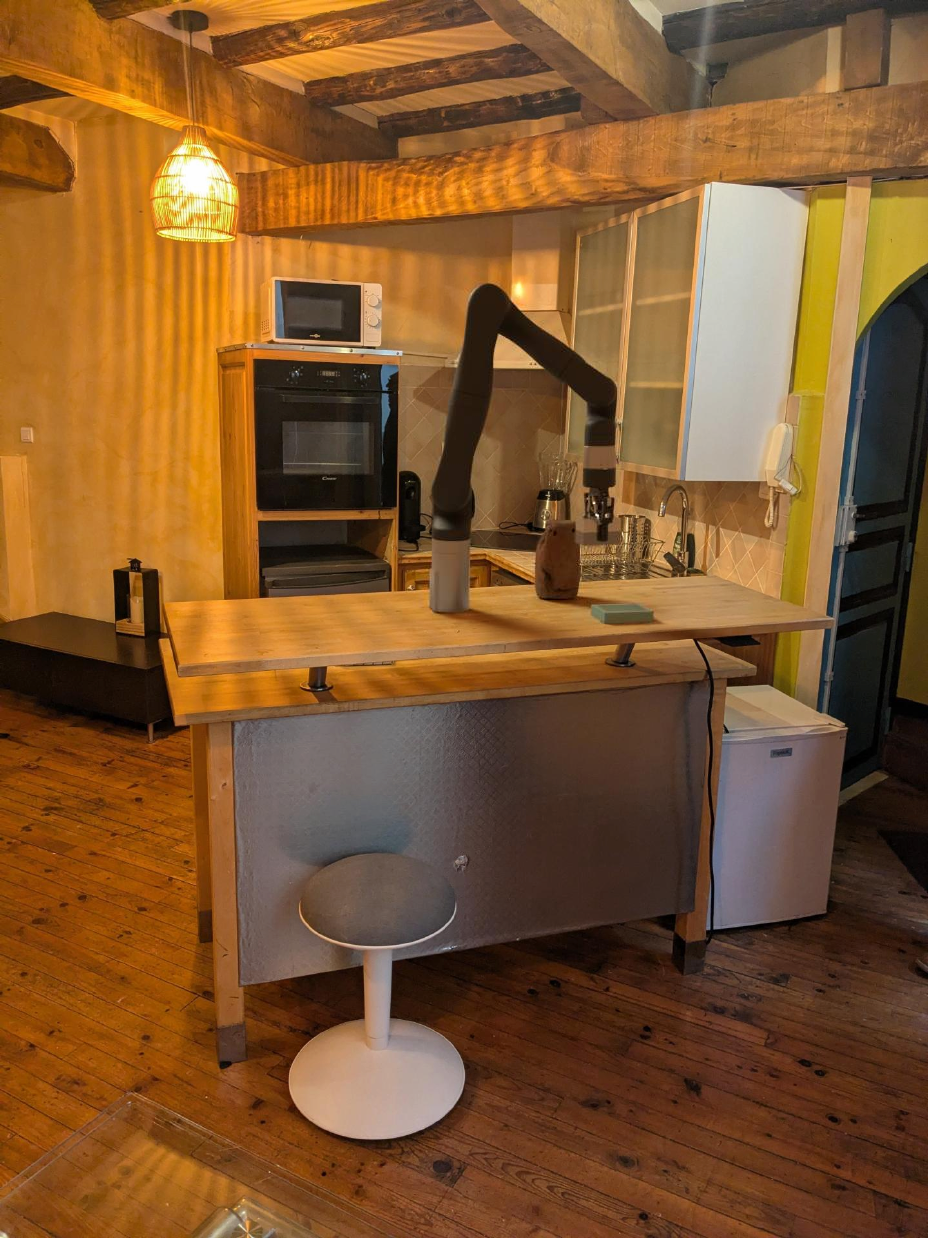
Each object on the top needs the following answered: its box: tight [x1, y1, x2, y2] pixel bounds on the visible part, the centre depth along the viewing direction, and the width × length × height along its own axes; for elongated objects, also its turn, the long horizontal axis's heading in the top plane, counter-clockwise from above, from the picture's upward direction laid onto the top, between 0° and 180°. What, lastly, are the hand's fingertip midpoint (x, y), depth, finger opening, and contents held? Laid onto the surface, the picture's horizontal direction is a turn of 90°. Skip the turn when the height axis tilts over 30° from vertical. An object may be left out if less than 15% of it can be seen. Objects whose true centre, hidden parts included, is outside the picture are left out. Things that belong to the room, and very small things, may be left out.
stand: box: [590, 602, 655, 624], centre depth 223 cm, size 12×9×2 cm
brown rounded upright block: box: [534, 519, 581, 600], centre depth 244 cm, size 11×8×20 cm
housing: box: [575, 513, 622, 547], centre depth 220 cm, size 9×6×7 cm, turn 103°
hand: (598, 539), depth 220 cm, fingers closed on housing, 5 cm apart
